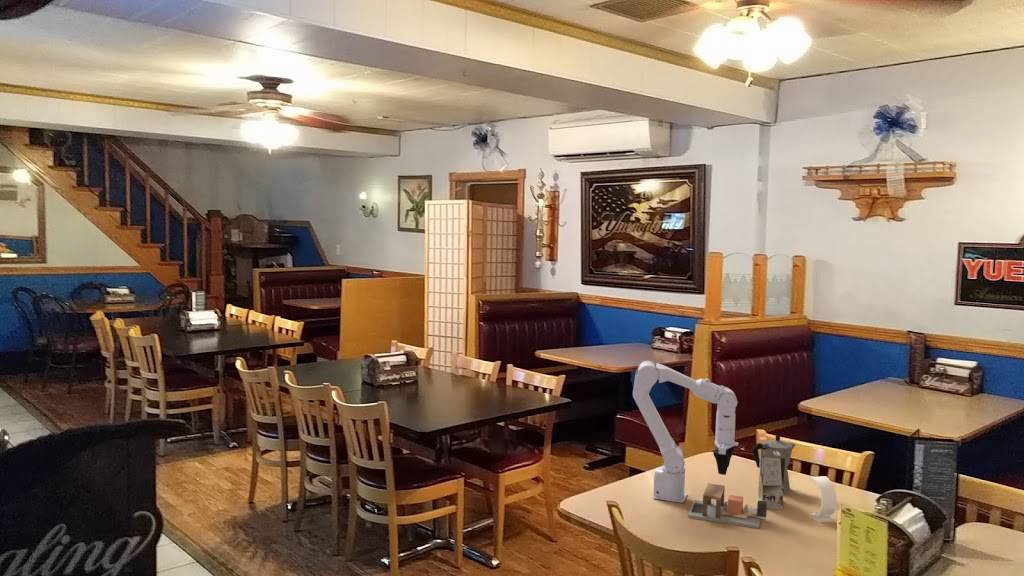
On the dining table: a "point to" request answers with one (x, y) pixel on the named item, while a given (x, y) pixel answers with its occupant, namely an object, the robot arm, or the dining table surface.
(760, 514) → the sled
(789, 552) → the dining table surface
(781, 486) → the coffee box
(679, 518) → the dining table surface
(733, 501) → the block
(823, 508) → the headphone stand
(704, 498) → the bridge
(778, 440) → the coffeepot
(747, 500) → the dining table surface
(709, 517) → the track board
